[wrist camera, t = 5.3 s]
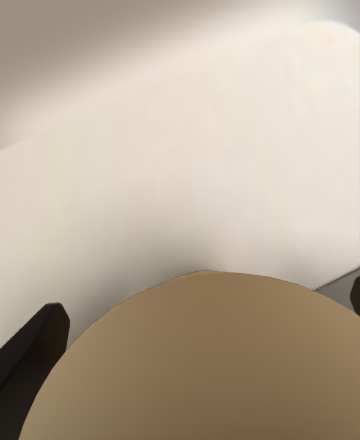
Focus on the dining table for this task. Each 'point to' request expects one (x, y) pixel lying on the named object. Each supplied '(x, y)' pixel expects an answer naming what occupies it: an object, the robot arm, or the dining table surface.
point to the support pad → (341, 289)
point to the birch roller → (208, 367)
